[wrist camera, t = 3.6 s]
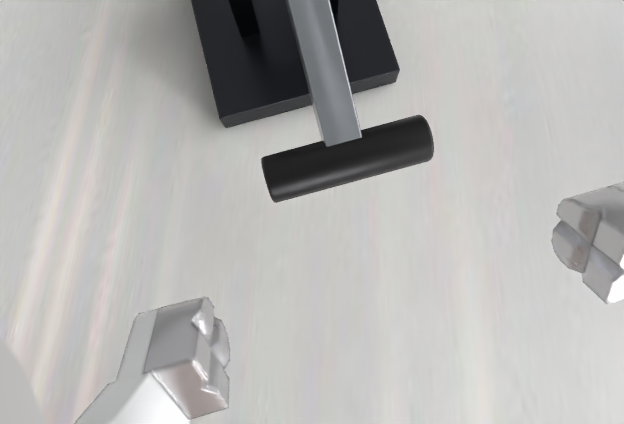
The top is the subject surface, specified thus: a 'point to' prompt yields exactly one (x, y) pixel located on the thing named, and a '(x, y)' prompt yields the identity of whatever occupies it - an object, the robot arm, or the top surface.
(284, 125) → the top surface
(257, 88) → the bracket
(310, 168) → the lever
